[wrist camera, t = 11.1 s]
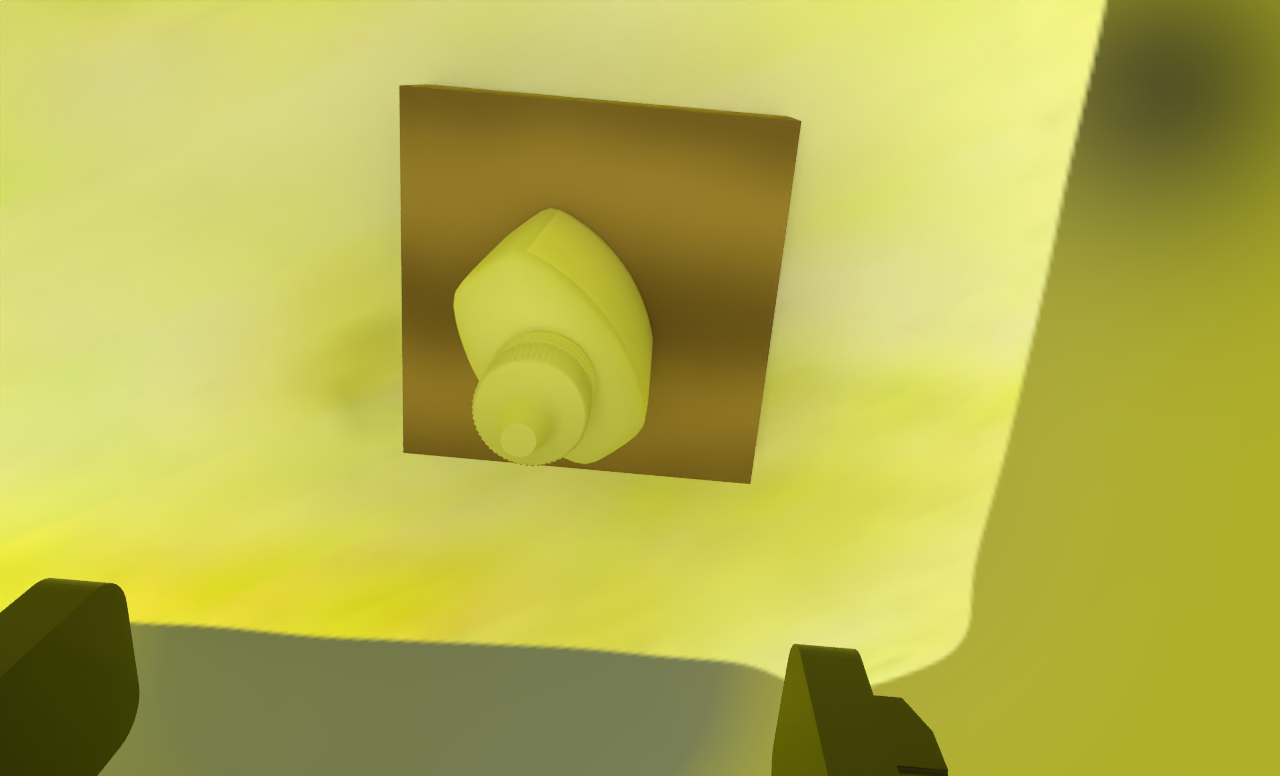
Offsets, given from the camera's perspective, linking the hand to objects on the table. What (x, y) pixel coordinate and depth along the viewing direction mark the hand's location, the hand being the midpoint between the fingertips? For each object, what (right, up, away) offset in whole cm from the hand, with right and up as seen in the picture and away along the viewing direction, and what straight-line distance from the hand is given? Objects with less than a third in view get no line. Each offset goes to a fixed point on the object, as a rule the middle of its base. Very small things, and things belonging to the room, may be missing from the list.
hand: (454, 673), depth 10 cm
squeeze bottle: (0, +7, +18) cm, 19 cm away
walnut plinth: (+1, +7, +20) cm, 22 cm away
